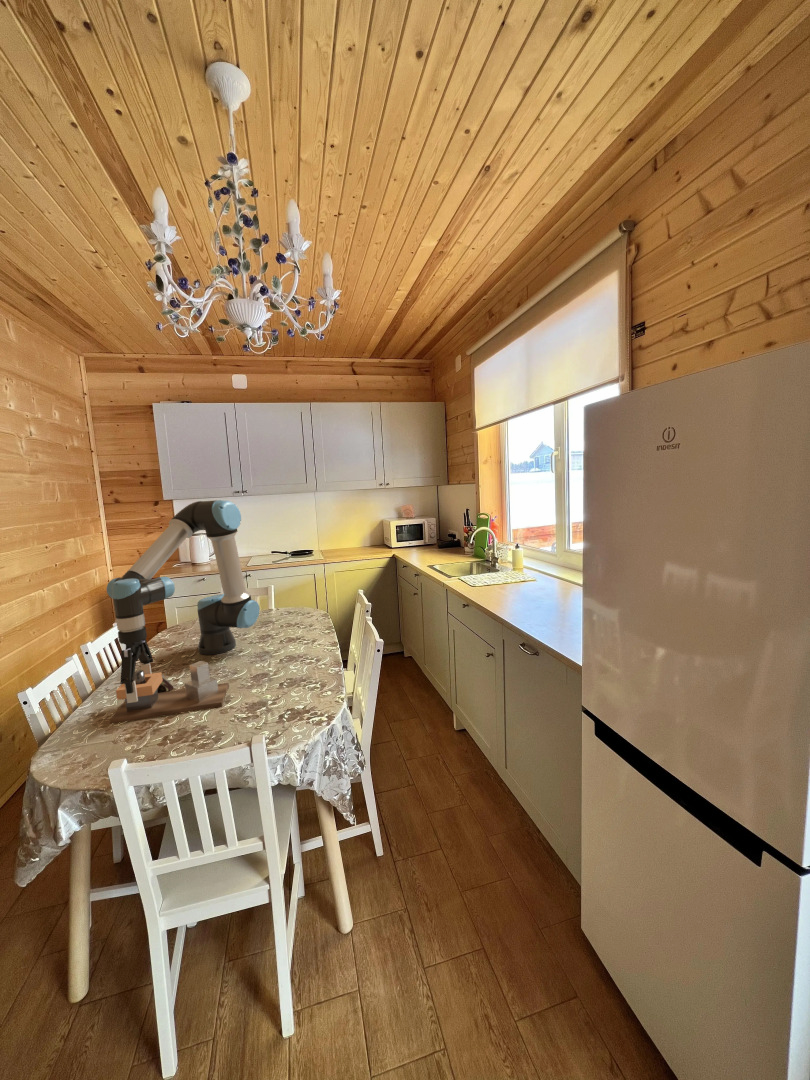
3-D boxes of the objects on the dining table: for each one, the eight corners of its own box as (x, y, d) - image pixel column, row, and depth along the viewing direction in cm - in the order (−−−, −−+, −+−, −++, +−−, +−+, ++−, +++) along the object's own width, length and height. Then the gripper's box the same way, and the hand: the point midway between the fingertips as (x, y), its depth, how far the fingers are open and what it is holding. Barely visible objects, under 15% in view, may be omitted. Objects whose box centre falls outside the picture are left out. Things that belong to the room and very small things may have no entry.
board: (128, 701, 148) (127, 697, 147) (229, 686, 154) (228, 682, 154) (110, 724, 134) (109, 719, 134) (221, 706, 141) (221, 702, 141)
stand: (135, 700, 145) (130, 669, 143) (158, 697, 146) (153, 666, 145) (127, 711, 138) (121, 678, 136) (151, 707, 140) (146, 675, 138)
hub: (186, 697, 145) (182, 666, 143) (205, 688, 151) (202, 658, 149) (199, 702, 141) (195, 670, 140) (218, 692, 147) (214, 661, 145)
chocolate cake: (183, 687, 157) (166, 661, 160) (168, 691, 150) (150, 664, 154) (165, 705, 158) (148, 679, 161) (149, 710, 151) (132, 682, 154)
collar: (129, 685, 145) (128, 676, 145) (162, 680, 147) (161, 672, 147) (117, 699, 136) (115, 690, 135) (152, 694, 138) (151, 685, 137)
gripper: (133, 618, 150) (141, 677, 153) (100, 643, 126) (111, 713, 128) (157, 615, 151) (165, 673, 154) (129, 640, 127) (139, 709, 130)
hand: (140, 691), depth 141 cm, fingers open, 13 cm apart
